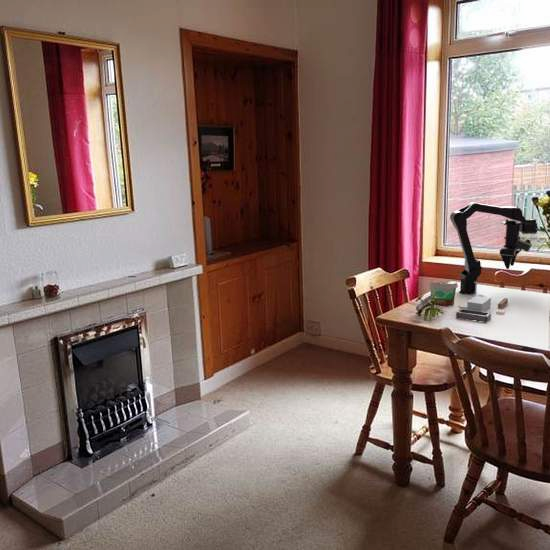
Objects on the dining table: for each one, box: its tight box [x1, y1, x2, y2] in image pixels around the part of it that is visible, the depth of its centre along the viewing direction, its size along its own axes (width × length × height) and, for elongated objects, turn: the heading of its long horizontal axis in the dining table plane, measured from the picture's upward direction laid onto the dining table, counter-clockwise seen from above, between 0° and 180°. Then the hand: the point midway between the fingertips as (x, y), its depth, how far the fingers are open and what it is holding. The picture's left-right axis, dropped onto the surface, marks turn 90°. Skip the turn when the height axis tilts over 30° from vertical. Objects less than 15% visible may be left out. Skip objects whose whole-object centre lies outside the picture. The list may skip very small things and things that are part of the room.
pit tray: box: [455, 309, 492, 323], centre depth 224 cm, size 12×6×2 cm, turn 55°
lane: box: [477, 294, 509, 310], centre depth 244 cm, size 12×11×2 cm
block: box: [467, 295, 492, 312], centre depth 234 cm, size 6×12×5 cm, turn 143°
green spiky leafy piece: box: [415, 294, 444, 321], centre depth 226 cm, size 11×11×12 cm
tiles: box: [459, 304, 506, 315], centre depth 234 cm, size 18×3×1 cm, turn 55°
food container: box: [428, 280, 459, 307], centre depth 243 cm, size 12×6×10 cm, turn 71°
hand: (509, 267), depth 261 cm, fingers open, 9 cm apart
